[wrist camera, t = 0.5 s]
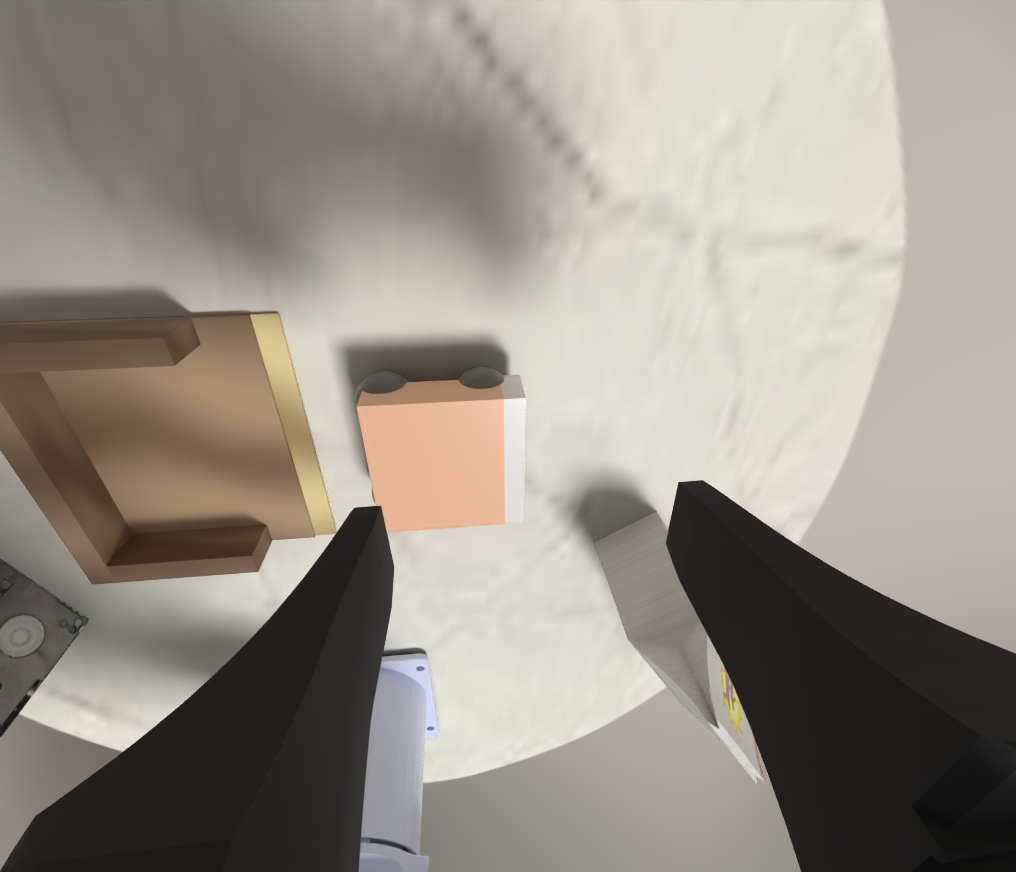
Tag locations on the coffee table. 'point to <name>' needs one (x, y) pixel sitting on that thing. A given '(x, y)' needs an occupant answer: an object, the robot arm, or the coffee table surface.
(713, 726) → the gable top carton
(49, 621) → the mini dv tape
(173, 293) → the coffee table surface
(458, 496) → the trolley
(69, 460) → the tray
